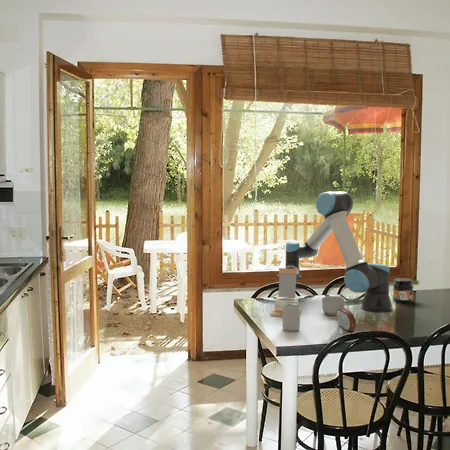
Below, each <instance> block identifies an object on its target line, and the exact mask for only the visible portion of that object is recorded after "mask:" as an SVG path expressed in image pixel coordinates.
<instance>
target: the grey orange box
mask: <svg viewBox="0 0 450 450" xmlns="http://www.w3.org/2000/svg"><path fill="white" fill-rule="evenodd" d="M285 268H286V267H283V268H278V272H279V273H280V276H279V278H278V280H279V281H278V297H280V298H296V285H297V284H296V282H297V280H296V274H297V269H285Z"/></svg>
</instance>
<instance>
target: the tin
mask: <svg viewBox="0 0 450 450" xmlns="http://www.w3.org/2000/svg"><path fill="white" fill-rule="evenodd" d="M336 322H337V324H338V326H339V327H341V328H342V329H343V330H345V331H347V332H353V331H354V332H355V329H356V326H357V325H356V318H355V315H354V313H353V312H352V311H350V310H348V309H346V308H345V307H344V308H341V309H338V310H337V315H336Z"/></svg>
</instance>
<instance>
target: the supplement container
mask: <svg viewBox="0 0 450 450" xmlns="http://www.w3.org/2000/svg"><path fill="white" fill-rule="evenodd" d="M393 282H394V283H393V285H392V287H393V288H392V300H393V301H394V302H395V301H396V303H399V302H402V303H401V304H409V302H410V303H412V302H413V300H414V299H413V298H414V285H413V282H414V281H413V279H412V278H407V277H404V278H403V277H397V278H396V277H395V278H394V281H393Z"/></svg>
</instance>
